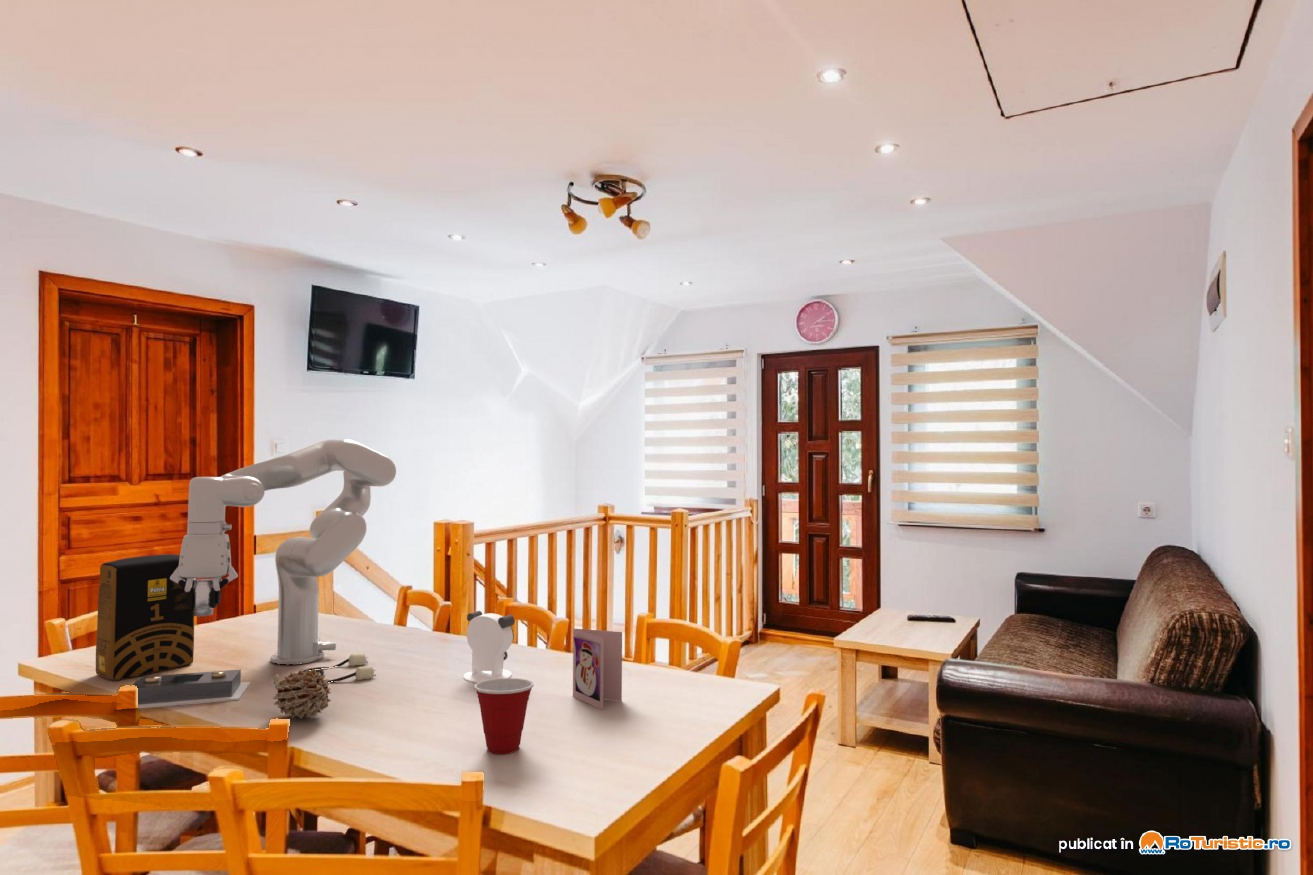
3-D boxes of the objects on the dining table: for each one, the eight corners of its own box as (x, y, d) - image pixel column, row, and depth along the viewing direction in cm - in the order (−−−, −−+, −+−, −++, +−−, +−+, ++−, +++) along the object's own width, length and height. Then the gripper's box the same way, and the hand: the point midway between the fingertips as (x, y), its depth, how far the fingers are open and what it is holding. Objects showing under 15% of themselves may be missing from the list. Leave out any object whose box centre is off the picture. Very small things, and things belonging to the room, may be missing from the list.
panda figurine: (523, 673, 184) (523, 611, 184) (494, 685, 174) (495, 621, 174) (483, 667, 189) (484, 607, 189) (453, 679, 179) (454, 616, 179)
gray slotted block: (240, 684, 172) (240, 665, 172) (231, 696, 164) (232, 676, 164) (141, 692, 166) (141, 673, 166) (126, 705, 157) (127, 684, 158)
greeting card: (569, 696, 166) (570, 629, 167) (596, 690, 171) (597, 624, 171) (599, 710, 158) (600, 638, 158) (627, 703, 162) (627, 633, 163)
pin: (214, 612, 178) (216, 578, 178) (210, 615, 174) (211, 581, 174) (195, 613, 177) (197, 579, 177) (190, 616, 173) (192, 581, 173)
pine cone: (344, 719, 151) (345, 669, 152) (297, 733, 144) (298, 680, 144) (290, 697, 165) (291, 651, 165) (244, 708, 157) (245, 661, 157)
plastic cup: (536, 736, 143) (537, 673, 143) (529, 759, 132) (529, 691, 132) (479, 737, 142) (480, 673, 143) (467, 760, 132) (467, 691, 132)
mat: (250, 683, 174) (250, 682, 174) (238, 699, 163) (239, 698, 163) (134, 693, 167) (134, 691, 167) (114, 710, 155) (114, 708, 155)
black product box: (198, 664, 190) (200, 553, 191) (110, 683, 174) (113, 562, 174) (177, 657, 196) (180, 550, 196) (90, 675, 180) (93, 558, 180)
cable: (306, 690, 171) (306, 675, 171) (300, 673, 185) (300, 658, 185) (378, 680, 179) (378, 665, 179) (366, 664, 193) (366, 650, 193)
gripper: (249, 527, 182) (246, 603, 182) (170, 528, 177) (167, 606, 177) (242, 530, 175) (239, 609, 174) (159, 531, 170) (156, 612, 170)
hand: (203, 606), depth 176 cm, fingers closed on pin, 4 cm apart
